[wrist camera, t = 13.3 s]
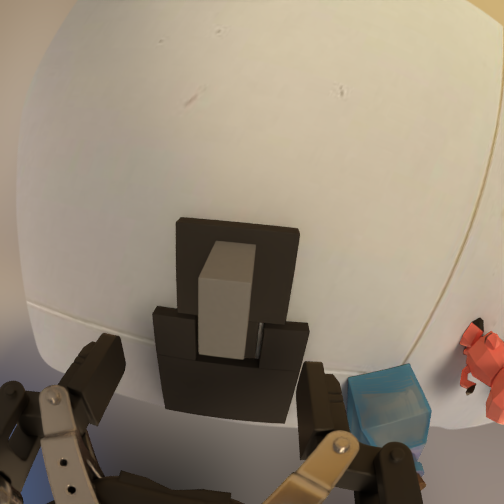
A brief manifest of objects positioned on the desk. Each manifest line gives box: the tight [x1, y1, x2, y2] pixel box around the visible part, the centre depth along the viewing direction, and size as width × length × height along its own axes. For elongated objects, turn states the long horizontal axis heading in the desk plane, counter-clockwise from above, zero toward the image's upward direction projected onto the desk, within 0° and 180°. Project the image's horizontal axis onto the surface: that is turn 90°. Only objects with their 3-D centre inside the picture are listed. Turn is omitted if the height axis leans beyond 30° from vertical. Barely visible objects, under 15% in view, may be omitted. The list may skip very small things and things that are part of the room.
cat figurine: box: [459, 318, 504, 425], centre depth 18 cm, size 7×7×12 cm
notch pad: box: [152, 306, 309, 424], centre depth 25 cm, size 12×12×1 cm
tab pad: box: [176, 217, 300, 360], centre depth 19 cm, size 8×11×6 cm
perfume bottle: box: [347, 364, 432, 491], centre depth 20 cm, size 6×6×12 cm
